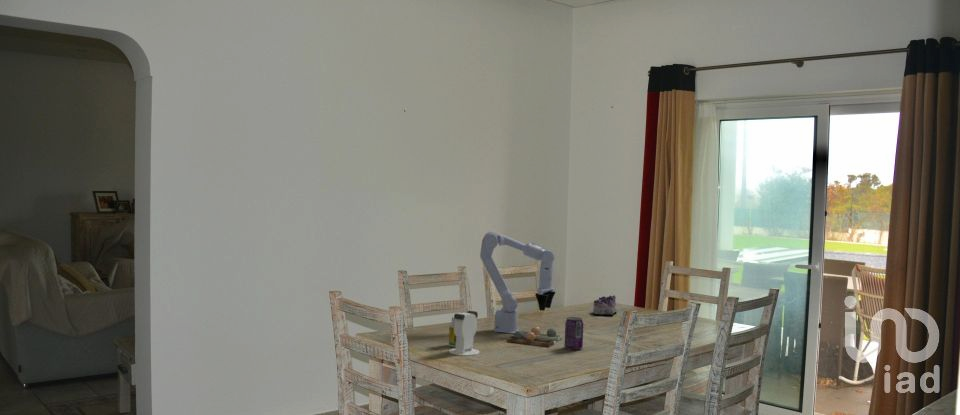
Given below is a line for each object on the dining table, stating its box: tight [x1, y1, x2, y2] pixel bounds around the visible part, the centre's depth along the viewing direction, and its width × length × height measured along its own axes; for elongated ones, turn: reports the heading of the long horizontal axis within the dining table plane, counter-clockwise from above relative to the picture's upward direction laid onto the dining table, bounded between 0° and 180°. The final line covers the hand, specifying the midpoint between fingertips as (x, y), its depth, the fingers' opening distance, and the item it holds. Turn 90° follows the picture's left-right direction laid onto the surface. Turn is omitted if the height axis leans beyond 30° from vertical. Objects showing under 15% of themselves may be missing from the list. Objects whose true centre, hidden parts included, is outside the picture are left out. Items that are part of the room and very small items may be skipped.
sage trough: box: [521, 330, 564, 344], centre depth 316 cm, size 18×11×2 cm, turn 67°
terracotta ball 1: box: [526, 331, 536, 341], centre depth 307 cm, size 4×4×4 cm
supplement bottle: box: [448, 315, 456, 348], centre depth 297 cm, size 6×6×11 cm
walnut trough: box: [506, 335, 555, 348], centre depth 307 cm, size 18×6×2 cm, turn 67°
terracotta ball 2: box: [530, 326, 541, 335], centre depth 319 cm, size 4×4×4 cm
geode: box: [592, 295, 618, 316], centre depth 386 cm, size 20×12×10 cm, turn 160°
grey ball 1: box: [513, 330, 524, 340], centre depth 309 cm, size 4×4×4 cm
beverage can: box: [564, 316, 584, 351], centre depth 300 cm, size 7×7×12 cm
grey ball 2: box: [546, 327, 557, 337], centre depth 316 cm, size 4×4×4 cm
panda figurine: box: [449, 310, 480, 357], centre depth 287 cm, size 12×11×15 cm
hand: (544, 309), depth 329 cm, fingers open, 7 cm apart
